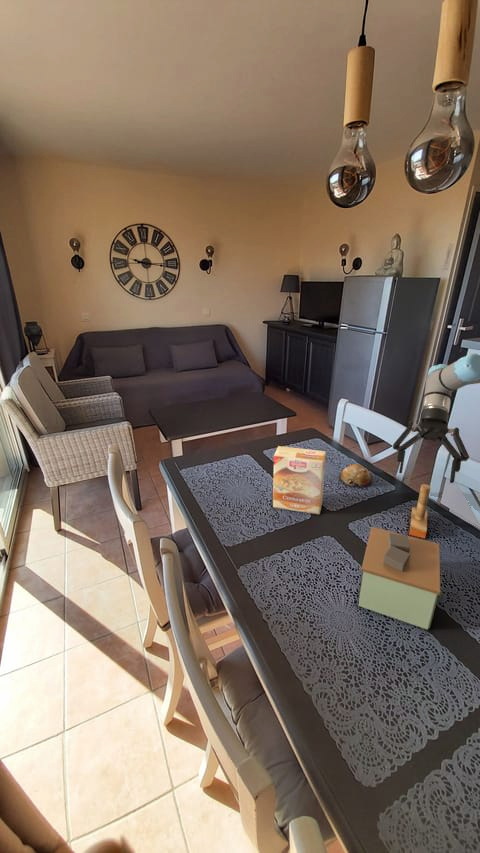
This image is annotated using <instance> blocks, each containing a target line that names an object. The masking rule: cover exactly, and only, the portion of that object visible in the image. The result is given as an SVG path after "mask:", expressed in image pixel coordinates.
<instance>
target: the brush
mask: <svg viewBox="0 0 480 853" xmlns="http://www.w3.org/2000/svg"><path fill="white" fill-rule="evenodd" d="M430 492H431V486H430V485H429V484H426V483H425V484H424V483H423V484H421V485H420V490H419V494H418V499H417V504H416V506H412V507H411V512H410V523H409V535H408V536H412V537H416V538H420V539H426V536H427V531H428V509H427V507H428V503H429V497H430Z"/></svg>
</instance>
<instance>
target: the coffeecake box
mask: <svg viewBox="0 0 480 853" xmlns="http://www.w3.org/2000/svg"><path fill="white" fill-rule="evenodd" d="M326 455H327V451H326V450H317V449H309V448H301V447H290V446H281V445H278V446H277V448H276V450H275V452H274V454H273V486H272V488H273V489H272V490H273V493H272V494H273V495H272V497H273V498H272V499H273V500H272V507H273V508H276V509H281V510H286V511H287V510H288V511H295V512H301V513H307V514H315V515H320V514H321V510H322V505H323V496H324V484H325V470H326V459H327V458H326V457H327V456H326Z"/></svg>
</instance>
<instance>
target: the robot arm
mask: <svg viewBox="0 0 480 853" xmlns="http://www.w3.org/2000/svg"><path fill="white" fill-rule="evenodd" d="M476 384H480V354H478V353H470V354H467V355H465V356H462V357H460V358H458V360H456V361H454V362H453V363H451V364H444V363H439V364H435V365H433V366H431V367H430V368H429V369H428V372H427V376H426V379H425V386H424V394H423V401H422V407H421V411H420V412H421V414H420V419H419V423H414V422H413V421H412V420H410V421H408V425H407V427H406V428H405V430H404V431H403V432H402V433H401V434H400V435H399V437H398V438H397V439H396V440H395V441H394V442H393V444H392V449H393V450H396V451H397V458H396V461H397V462H398V463H400V464H399V470H398V473H399V474H402V473H403V469H404V462H405V456H406V450H408V449H409V448H410V447H411V446H413V445H414V444H416V443H417V442H418V441H420V440H421V439H424V440H425V441H432V442H440V444H442V445H443V446H444V448H445V449H446V451H447V452H448V453H449V454H450V456H451V457H452V458H453V460H452V462H451V470H450V476H449V477H450V478H449V484H454V482H455V478H456V473H459V472H460V471H461V465H462V462H467V461H468V460H469V458H470V455H469V452H468V451H467V449H466V446H465V444H464V442H463V440H462V438H461V435H460V429H459V427H455V428H449V426H448V422H449V416H450V414H449V413H450V408H451V399H452V393H453V392H454V391H457V390H459V389H461V388H464V387H465V386H469V385H476ZM416 429H417V431H418V432H417V433H416V434H415V435H414V436H413V437H411V438H409V439H408V440H407V441H405V440H406V438H407V437H408V436H409V435H410V434H411V432H412V431H414V430H416ZM447 434H449V435H450V436H451V437H452V439H453V441H454V443H455V446H456V448H457V449H456V448H455V447H454V446H453V444H452V443H451V441H450V440H449V438H448V437H447ZM404 441H405V442H404ZM403 442H404V443H403Z"/></svg>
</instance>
